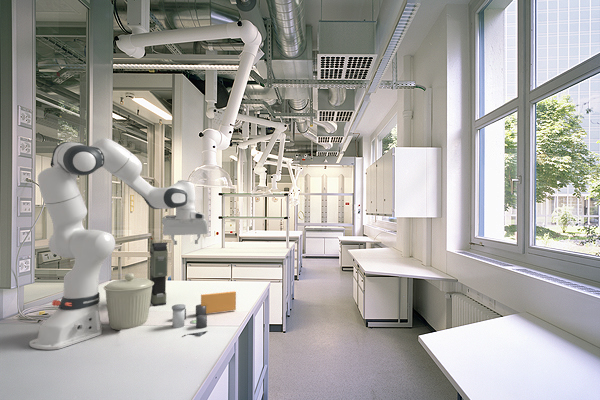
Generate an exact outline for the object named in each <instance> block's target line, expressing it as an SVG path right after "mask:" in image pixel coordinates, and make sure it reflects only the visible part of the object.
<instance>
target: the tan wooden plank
mask: <svg viewBox="0 0 600 400" xmlns="http://www.w3.org/2000/svg"><path fill="white" fill-rule="evenodd" d="M236 301H237V291H235V290H233V291H226V292H225V291H224V292H215V293H214V292H213V293H205V294H200V304H196V305H195V317H196V316H198V315H206V316H207V314H213V313H214V314H215V313H221V312H230V311H237V310H236V309H237V308H236V307H237V302H236Z"/></svg>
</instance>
